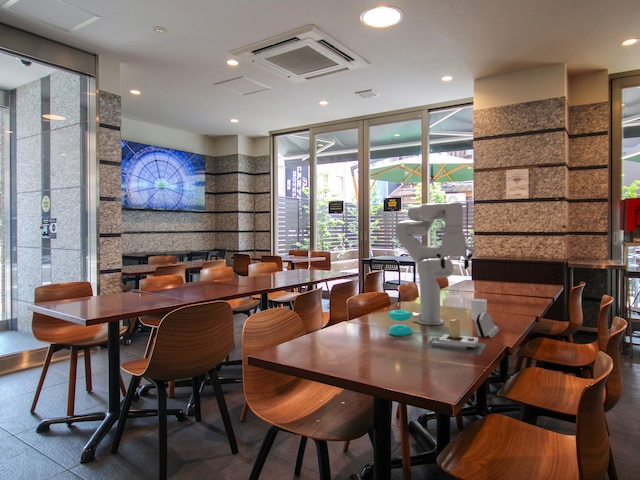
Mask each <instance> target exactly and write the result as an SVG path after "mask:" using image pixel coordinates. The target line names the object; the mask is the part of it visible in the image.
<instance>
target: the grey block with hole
mask: <svg viewBox="0 0 640 480" xmlns="http://www.w3.org/2000/svg"><path fill="white" fill-rule="evenodd" d="M434 338H435V339H434V340H433V341H432V342H431V346H433V347H442V348H450V349H459V350H467V349H468V348H471V349H473V348H474V347H475V346H476V345H477V343H479V337H475V336H468V335H467V336H465V335H460V340H451V339H449V334H442V336H441V337H440V336H436V337H434Z"/></svg>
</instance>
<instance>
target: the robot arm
mask: <svg viewBox="0 0 640 480" xmlns="http://www.w3.org/2000/svg"><path fill="white" fill-rule="evenodd" d="M463 209H464V207H463V203H462V202H459V201H449V202H444V203H443V202H434V203H422V204H415V205H413V206H410V208H409V209H408V210H407V217H408V218H409V220H402V221H399V222H398V223H397V224H396V225H395V228H394V229H395V230H394V232H395V236H396V239H397V241H398V242H399V244H400V245H401V246H402V247H403V248H404V249H405V250H406V251H407V253H408V254H409V256H410V258H411V260H413V261H414V263H416V264H417V273H418V279H419V300H420V301H419V302H420V303H419V307H420V308H419V309H420V311H419V312H418V313H416V312H411V314H412V317H413V318H417V321H416V322H417V323H418V324H421V325H427V326H437V325H439V326H440V325H443V324H444V322H445V321H444V319H442V318H441V288H440V284H439V282H438V281H437V280H436V279H437V278H448V277H451V276H452V275H453V274H454V272H455V271H454V264H453V262H452V260H451V259H450V256H451V257H463V258H464V260H463V261H464V264H463V265H464V270H468V268H469V262H470V259H472V257H473V256H474V255H475V254H474V253H475V252H476V250H475V249H474V248H472V247H470V246H468V245H467V240H466V234H465V232H464V224H463V223H464V222H463V221H464V218H463V217H464V216H463V215H464V213H463V212H464V211H463ZM435 220H439V221H441V220H444V227H441V231H442V232H444V233H442V239H441V246H438V245H424V243H422V242H421V241H420V239H418V237H421V236H425V235H427V234H428V233H429V230H430V229H431V227H432V225H433V223H434V222H435ZM467 251H469V252H470V253H469V255H468V254H467Z"/></svg>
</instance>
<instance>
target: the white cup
mask: <svg viewBox="0 0 640 480" xmlns="http://www.w3.org/2000/svg"><path fill="white" fill-rule="evenodd" d="M469 301H470V302H469V303H470V315H471V320H472V321H474V319H475V317H476V316H477V315H478V314H482V313H487V310H488V308H487V305H488V304H487V303H488V300H487V299H485V298H471V299H469Z"/></svg>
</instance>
